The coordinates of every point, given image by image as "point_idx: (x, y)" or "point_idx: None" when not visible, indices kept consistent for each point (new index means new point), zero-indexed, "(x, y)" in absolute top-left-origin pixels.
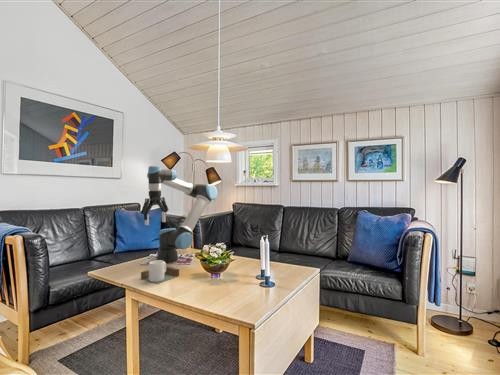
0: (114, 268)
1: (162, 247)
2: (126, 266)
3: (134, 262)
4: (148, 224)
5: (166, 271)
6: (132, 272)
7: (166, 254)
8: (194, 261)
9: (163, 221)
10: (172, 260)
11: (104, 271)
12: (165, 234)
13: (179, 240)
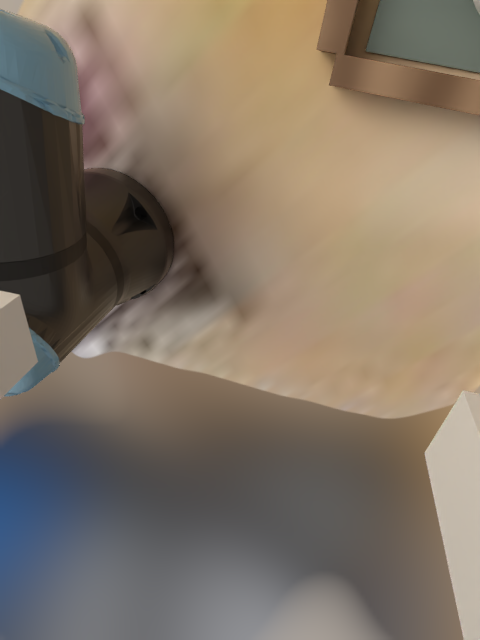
0: (355, 386)
1: (112, 277)
2: (306, 358)
3: (235, 363)
4: (474, 403)
5: (356, 9)
6: (392, 267)
7: (123, 228)
8: None
9: (20, 330)
10: (120, 178)
11: (414, 398)
12: (34, 308)
13: (36, 43)
